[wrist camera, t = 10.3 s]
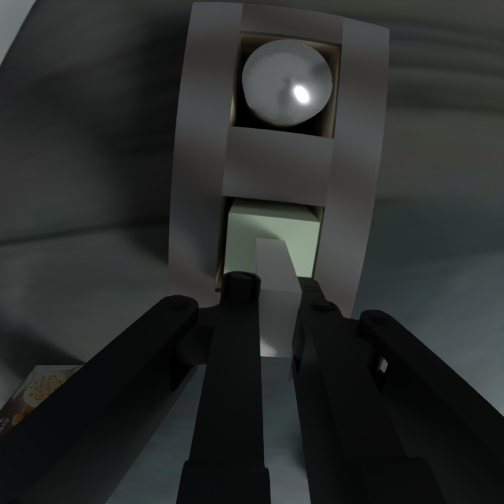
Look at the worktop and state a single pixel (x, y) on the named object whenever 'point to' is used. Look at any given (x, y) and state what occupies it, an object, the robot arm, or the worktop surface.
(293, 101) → the metal peg
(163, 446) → the worktop surface
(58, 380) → the coffee box
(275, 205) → the sage peg
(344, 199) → the socket block
